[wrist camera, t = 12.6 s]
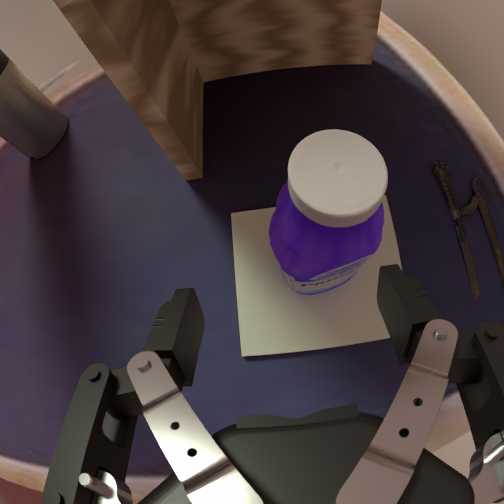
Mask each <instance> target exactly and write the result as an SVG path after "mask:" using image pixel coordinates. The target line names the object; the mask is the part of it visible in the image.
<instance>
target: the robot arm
mask: <svg viewBox="0 0 504 504" xmlns="http://www.w3.org/2000/svg"><path fill="white" fill-rule="evenodd" d="M67 124H68V119H67V117H66V116H65V115H64V114H63V113H62V112H61V111H60V110H59V109H58V108H57V107H56V106H55V105H54V104H53V103H52V102H51V101H50V100H49V99H48V98H47V97H46V96H45V95H44V94H43V93H42V92H41V91H40V90H39V89H38V88H37V87H36V86H35V84H34V83H32V81H31V80H30V79H28V77H27V76H26V75H25V74H24V73H23V72H22V71H21V70H20V69H19V68H18V67H17V66H16V65H15V64H14V63H13V62H12V61H11V60H10V59H9V58H8V57H7V56H6V55H5V54H4V53H3V52H2V51H1V50H0V137H2V138H3V139H4V140H6V141H7V142H8V143H10V144H11V145H12V146H14V147H15V148H16V149H18V150H19V151H20V152H22V153H23V154H25V155H26V156H27V157H29V158H30V157H33V158H35V159H40V158H42V157H44V156H46V155H47V154H49V153H50V152H51V151H52V150H53V149H54V148H55V147H56V145H57V144H58V143H59V142H60V140H61V138H62V137H63V135H64V133H65V131H66V128H67ZM377 304H378V308H379V310H380V313H381V315H382V318H383V320H384V323H385V325H386V328H387V330H388V333H389V336H390V338H391V341H392V343H393V346H394V349H395V351H396V354H397V357H398V360H399V362H400V365H403V364H407V363H409V364H410V366H409V368H408V370H407V373H406V375H405V377H404V379H403V382H402V384H401V386H400V388H399V390H398V392H397V394H396V397H395V399H394V401H393V403H392V405H391V407H390V409H389V411H388V413H387V415H386V417H385V418H384V419H383V418H382V417H379V416H377V415H374V414H370V413H365V412H358V411H357V405H356V404H354V405H349V406H342V407H336V408H329V409H325V410H323V411H320V412H317V413H314V414H311V415H308V416H306V417H303V418H299V419H292V418H284V417H277V416H271V415H252V416H237V424H234V425H231V426H228V427H226V428H223V429H221V430H219V431H218V432H216V433H215V434H213V435H212V436H210V434H209V433H208V432H207V430H206V429H205V428H204V426H203V425H202V423H201V422H200V420H199V419H198V418H197V416H196V415H195V413H194V412H193V410H192V409H191V407H190V406H189V404H188V403H187V401H186V400H185V398H184V397H183V395H182V394H181V392H182V388H183V386H192V383H193V378H194V373H195V368H196V363H197V358H198V354H199V349H200V344H201V339H202V335H203V330H204V316H203V312H202V310H201V307H200V304H199V301H198V298H197V295H196V292H195V290H194V289H193V288H187V289H177V290H175V293H174V295H173V298H172V301H168V302H166V303H165V304H164V305H163V306H162V307H161V308H160V309H159V311H158V314H157V316H156V320H155V321H154V324H153V327H152V329H151V332H150V334H149V337H148V340H147V342H146V345H145V348H144V350H143V352H141V353H138V354H137V355H135V356H134V357H133V358H132V359H131V360H130V361H129V363H128V365H127V366H126V367H122V368H118V369H114V370H109V368H108V367H107V366H106V365H105V364H102V363H95V364H92V365H90V366H89V367H87V368H86V369H85V370H84V371H83V373H82V375H81V377H80V380H79V382H78V385H77V387H76V390H75V393H74V395H73V398H72V401H71V403H70V406H69V409H68V412H67V414H66V417H65V420H64V423H63V426H62V429H61V432H60V435H59V438H58V441H57V444H56V448H55V451H54V454H53V458H52V461H51V465H50V468H49V472H48V476H47V479H46V483H45V487H44V492H43V496H42V500H43V504H132V503H133V500H132V494H131V490H130V489H129V487H128V486H127V485H126V484H125V478H126V472H127V467H128V461H129V456H130V451H131V446H132V441H133V436H134V431H135V426H136V422H137V417H138V415H140V414H144V416H145V418H146V420H147V422H148V424H149V426H150V428H151V430H152V432H153V434H154V436H155V438H156V439H157V441H158V443H159V445H160V447H161V449H162V450H163V452H164V454H165V456H166V457H167V459H168V461H169V463H170V464H171V466H172V468H173V469H174V472H173V473H172V474H171V475H170V476H169V477H168V478H166V479H165V480H164V481H163V482H162V483H161V484H160V485H159V486H157V487H156V488H155V489H154V490H153V491H152V492H151V493H149V494H148V495H147V496H146V497H145V498H144V499H142V500H141V501H140V502H139V503H138V504H490V503H499V502H501V501H503V500H504V330H503V329H502V328H501V327H500V326H499V325H498V324H496V323H494V322H491V321H485V322H482V323H480V324H479V325H478V326H477V329H476V331H458V330H457V329H456V327H455V326H454V325H453V324H452V323H450V322H449V321H446V320H443V319H441V318H440V316H439V314H438V313H437V311H436V309H435V308H434V306H433V304H432V302H431V301H430V299H429V297H428V296H427V294H426V292H425V291H424V290H423V288H422V286H421V284H420V283H419V281H418V280H417V279H416V278H414V277H413V276H412V275H410V274H404V273H403V272H402V270H401V269H400V267H399V265H398V264H392V265H386V266H381V267H380V269H379V278H378V288H377ZM448 383H456V385H457V388H458V390H459V393H460V396H461V399H462V402H463V405H464V409H465V412H466V415H467V418H468V422H469V425H470V429H471V432H472V436H473V440H474V443H475V447H476V451H475V453H474V454H473V455H472V457H471V460H470V475H469V478H468V479H467V478H466V477H465V476H463V475H462V474H461V473H459V472H458V471H456V470H455V469H453V468H452V467H450V466H449V465H447V464H446V463H445V462H443V461H442V460H440V459H439V458H438V457H436V456H435V455H433V454H432V453H431V452H429V451H428V450H426V449H425V448H424V446H425V443H426V441H427V439H428V436H429V434H430V431H431V429H432V426H433V424H434V421H435V419H436V416H437V413H438V411H439V408H440V405H441V402H442V399H443V396H444V393H445V390H446V387H447V384H448Z"/></svg>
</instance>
